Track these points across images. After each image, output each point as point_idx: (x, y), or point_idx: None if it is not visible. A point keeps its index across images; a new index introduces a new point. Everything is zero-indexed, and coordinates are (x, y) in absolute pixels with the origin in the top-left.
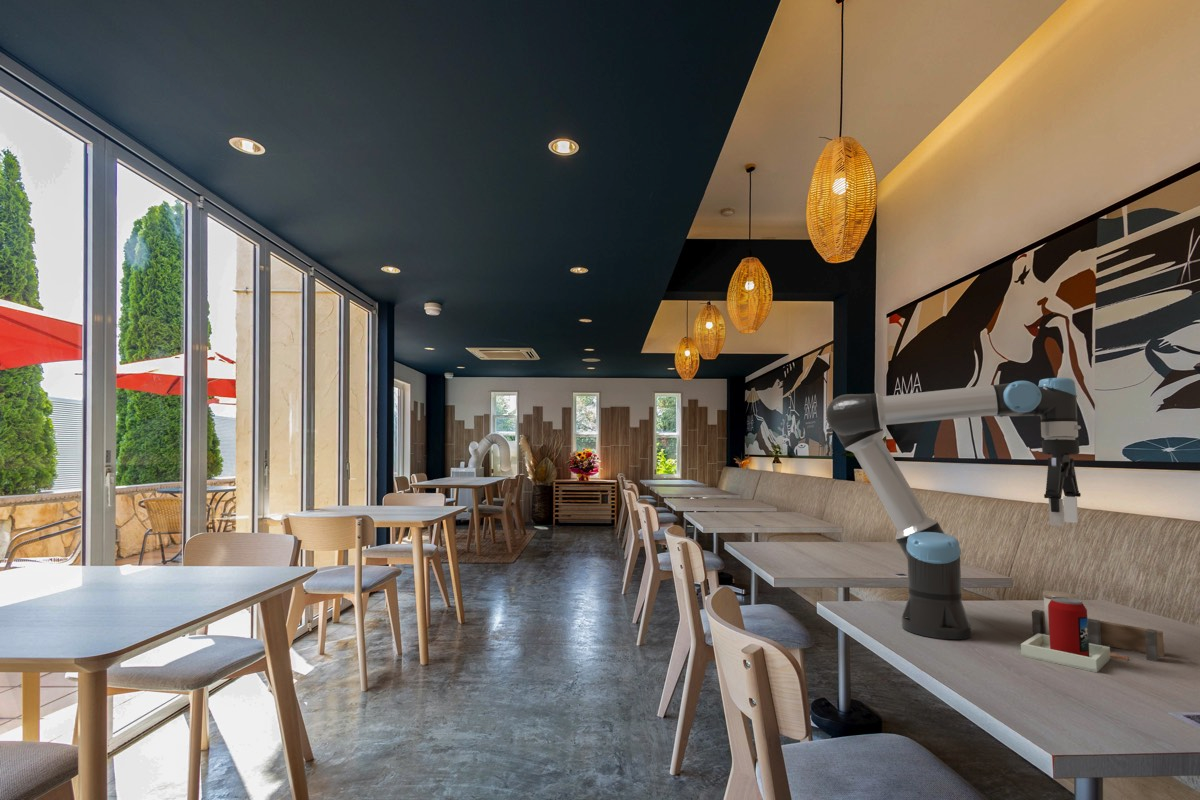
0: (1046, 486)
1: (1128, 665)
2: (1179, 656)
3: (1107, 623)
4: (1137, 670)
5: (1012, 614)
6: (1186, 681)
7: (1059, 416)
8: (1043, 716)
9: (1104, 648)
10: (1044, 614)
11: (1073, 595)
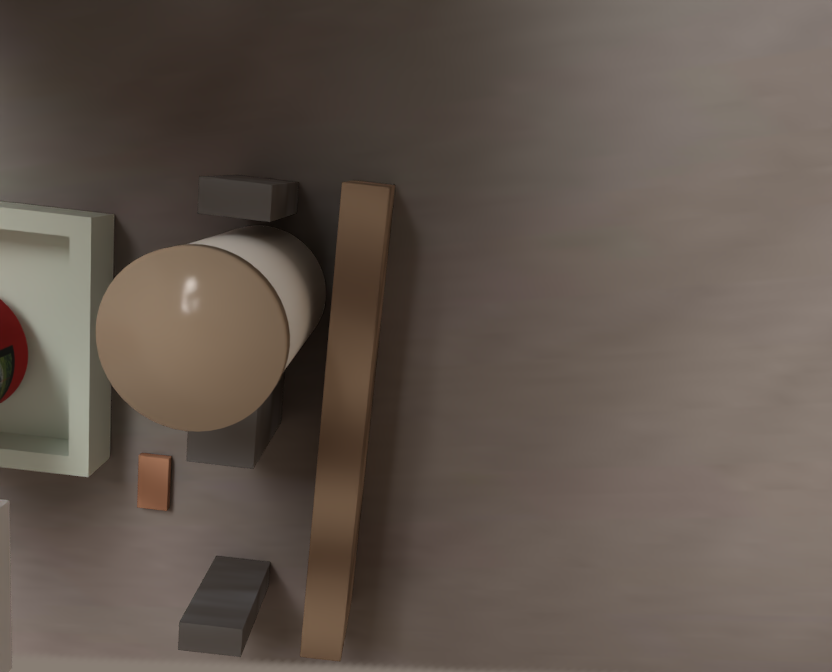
0: None
1: (72, 508)
2: (368, 640)
3: (321, 483)
4: (27, 532)
5: (708, 6)
6: (19, 646)
7: None
8: None
9: (47, 462)
10: (339, 219)
11: (199, 406)
